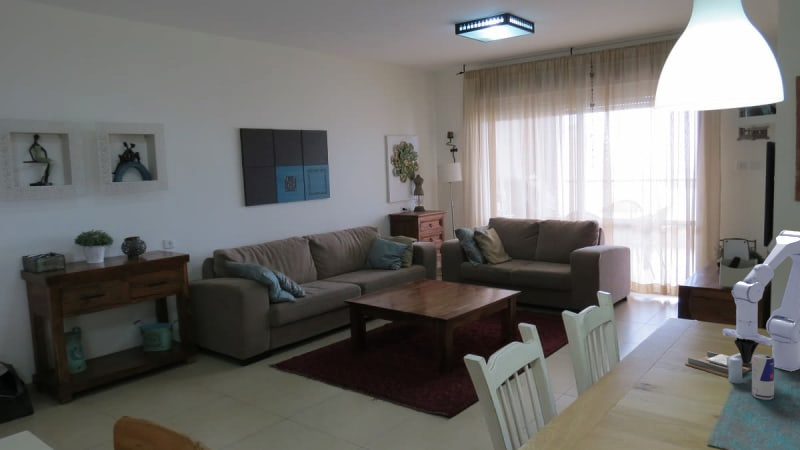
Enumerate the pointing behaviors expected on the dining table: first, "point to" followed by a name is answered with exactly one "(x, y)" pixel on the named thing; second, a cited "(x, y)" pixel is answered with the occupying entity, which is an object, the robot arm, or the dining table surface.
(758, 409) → the dining table surface
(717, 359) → the cover
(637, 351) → the dining table surface
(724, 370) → the wooden square tray
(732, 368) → the light blue rounded cylinder
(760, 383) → the energy drink
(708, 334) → the dining table surface
